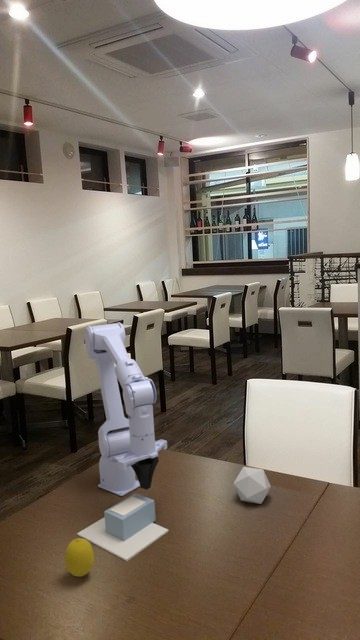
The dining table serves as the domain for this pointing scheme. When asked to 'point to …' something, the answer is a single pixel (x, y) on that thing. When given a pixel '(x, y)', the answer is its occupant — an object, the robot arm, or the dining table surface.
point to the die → (252, 485)
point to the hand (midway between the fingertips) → (145, 487)
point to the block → (129, 516)
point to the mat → (119, 547)
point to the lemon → (79, 557)
